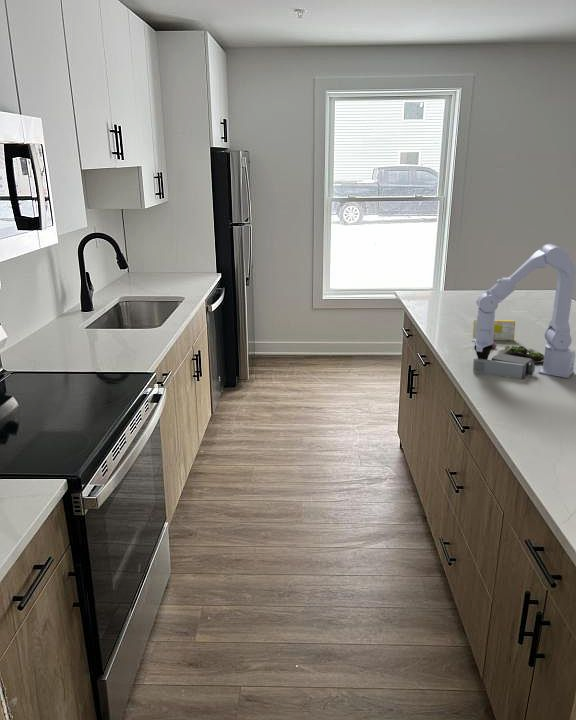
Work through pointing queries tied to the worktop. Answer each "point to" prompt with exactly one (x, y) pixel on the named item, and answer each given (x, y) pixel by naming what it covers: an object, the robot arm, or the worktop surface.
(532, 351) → the salad plate
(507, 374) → the side door
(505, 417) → the worktop surface
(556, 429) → the worktop surface
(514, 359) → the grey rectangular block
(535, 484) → the worktop surface
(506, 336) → the candy box
